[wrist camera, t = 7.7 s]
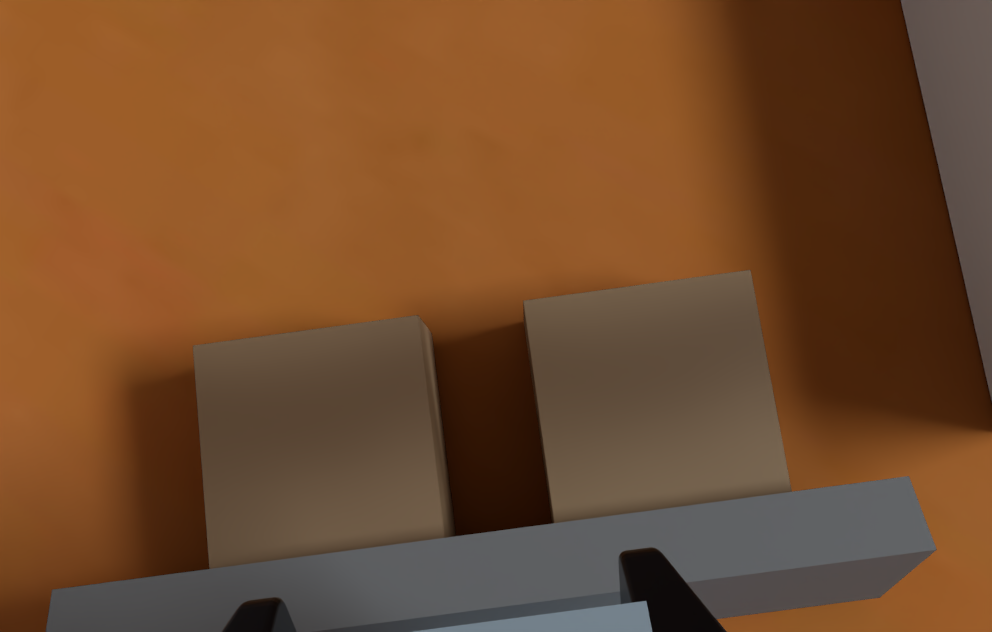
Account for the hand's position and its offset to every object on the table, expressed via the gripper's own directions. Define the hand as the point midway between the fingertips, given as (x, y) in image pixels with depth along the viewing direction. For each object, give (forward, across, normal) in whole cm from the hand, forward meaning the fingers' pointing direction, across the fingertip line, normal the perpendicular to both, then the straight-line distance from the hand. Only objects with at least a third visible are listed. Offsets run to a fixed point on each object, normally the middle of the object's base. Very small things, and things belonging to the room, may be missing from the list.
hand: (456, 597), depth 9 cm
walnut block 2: (+7, -3, +4) cm, 9 cm away
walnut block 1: (+7, +3, +4) cm, 9 cm away
